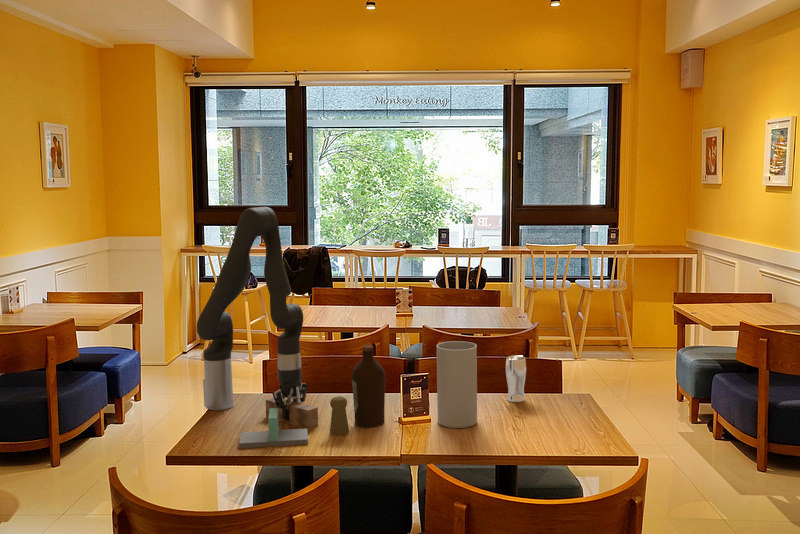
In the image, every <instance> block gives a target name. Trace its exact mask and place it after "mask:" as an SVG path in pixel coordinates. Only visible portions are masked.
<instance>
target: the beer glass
mask: <svg viewBox="0 0 800 534" xmlns="http://www.w3.org/2000/svg"><path fill="white" fill-rule="evenodd" d="M505 375H506V382H507V388H508V389H507V390H508V391H507V392H508V393H507V397H506V398H507V399H506V400H507V401H508V402H511V403H522V402H525V401H526V397H525V382H526V375H527V362H526V357H525V356H523V355H509V356H506V361H505Z"/></svg>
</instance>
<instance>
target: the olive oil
mask: <svg viewBox="0 0 800 534" xmlns="http://www.w3.org/2000/svg"><path fill="white" fill-rule="evenodd" d="M373 348H374V346H373V345H369V344H367V345H363V346H362V358H361V359H360V361H358V363H357V364H356V365H355V366H354V368H353V370H352V373H351V385H352V387H351V388H352V397H353V398H352V399H353V411H354V423H355V425H356V426H357V427H360V426H361V427H362V428H375V427H380V426H383V425H384V424H385V402H386V401H385V397H386V373H385V369H384V367H383V366H382V365H381V364H380V363H379V362H378V361H377V360H376V359H375V358H374V350H373ZM361 427H360V428H361Z"/></svg>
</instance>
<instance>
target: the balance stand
mask: <svg viewBox="0 0 800 534" xmlns="http://www.w3.org/2000/svg"><path fill="white" fill-rule="evenodd" d="M267 424H268V430H259V431H242V432H241V433H240V438H239V441H238V442H239V443H238V448H239V449H250V448H251V449H252V448H267V447H284V446H301V445H308V444H309V436H308V434H309V433H308V428H295V429H294V428H292V429H279V421H278V408H270V409H269V417H268V422H267Z"/></svg>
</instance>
